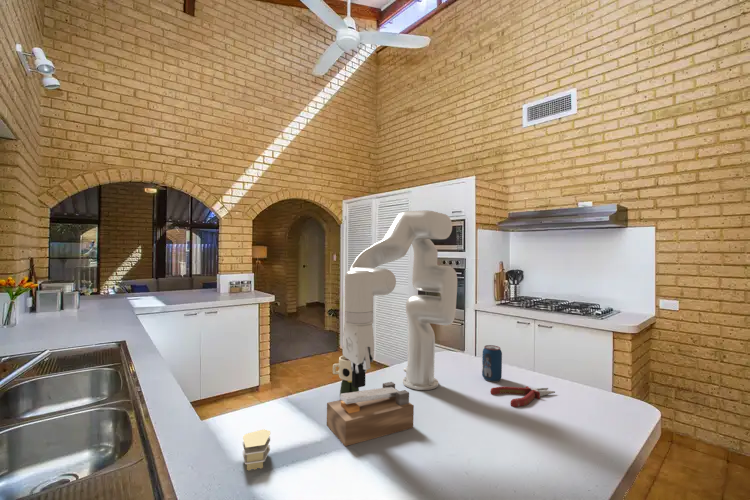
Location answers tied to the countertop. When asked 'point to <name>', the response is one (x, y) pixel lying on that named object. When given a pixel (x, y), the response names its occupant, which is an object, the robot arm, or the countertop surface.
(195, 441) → the countertop surface
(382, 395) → the latch lever
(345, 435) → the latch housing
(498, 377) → the soda can
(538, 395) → the pliers
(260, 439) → the pale yellow faceted block
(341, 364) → the character mug
